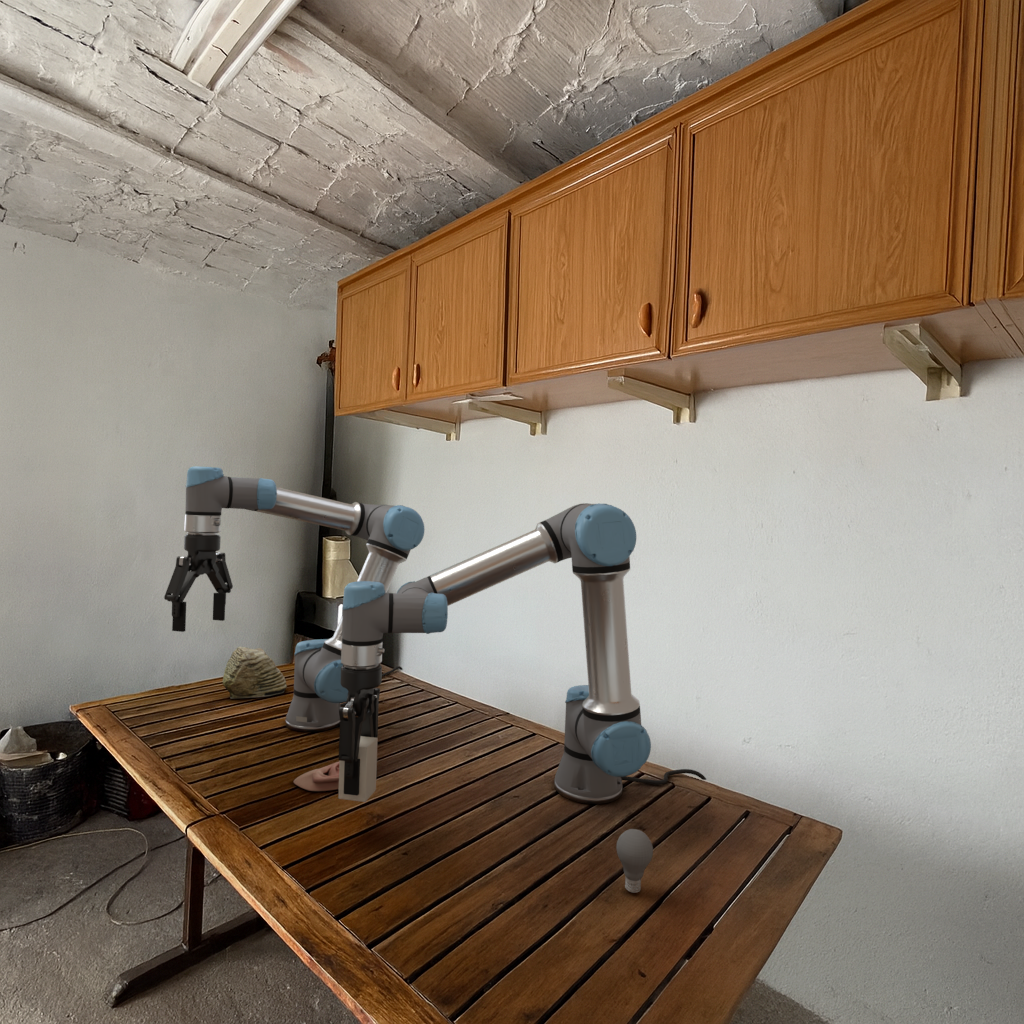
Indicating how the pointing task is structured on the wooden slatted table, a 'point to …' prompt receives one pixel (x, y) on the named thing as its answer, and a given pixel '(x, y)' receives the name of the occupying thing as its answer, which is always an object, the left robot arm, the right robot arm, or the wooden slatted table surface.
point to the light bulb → (634, 857)
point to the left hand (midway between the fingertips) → (199, 625)
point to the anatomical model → (320, 778)
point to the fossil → (252, 674)
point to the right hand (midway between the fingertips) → (357, 786)
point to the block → (362, 771)
